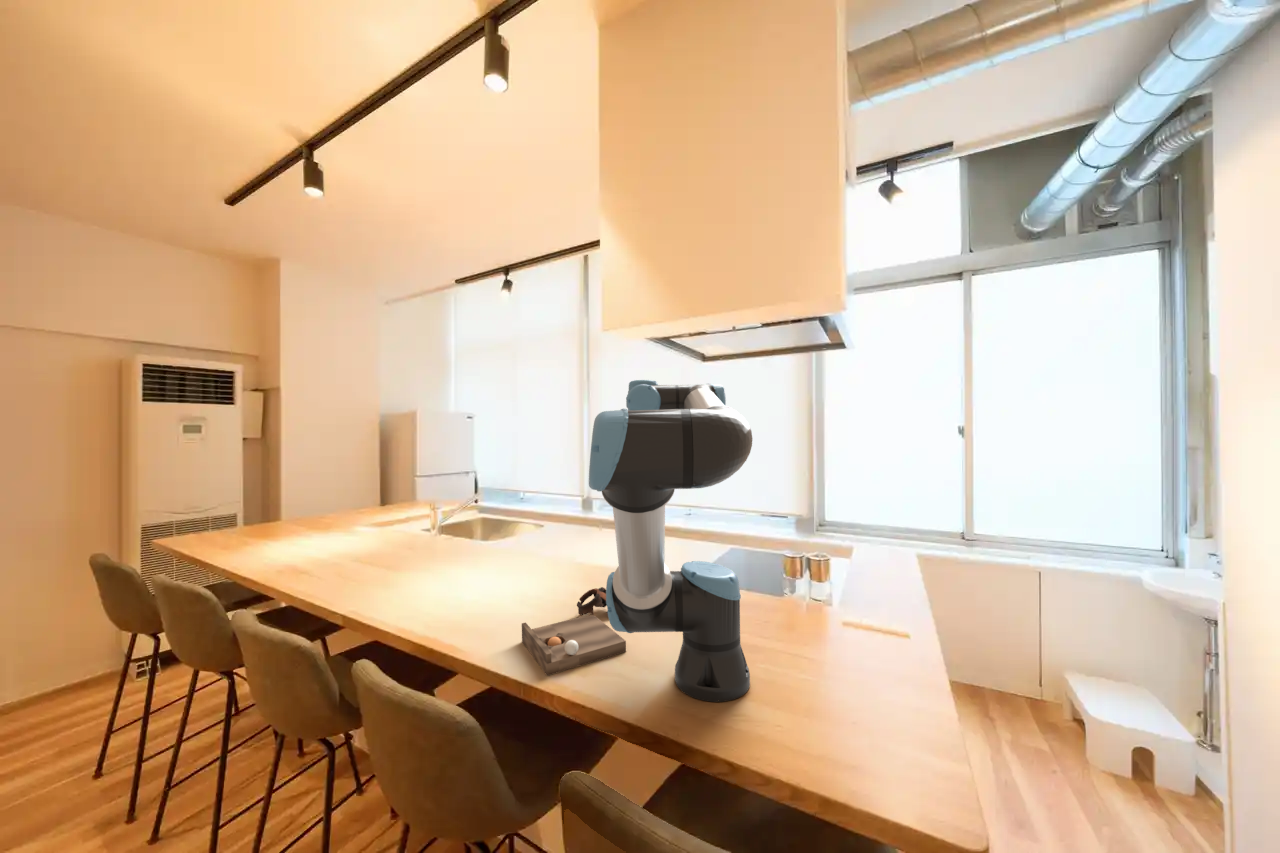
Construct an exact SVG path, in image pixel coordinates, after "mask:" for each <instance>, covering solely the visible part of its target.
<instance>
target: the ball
mask: <svg viewBox="0 0 1280 853" xmlns="http://www.w3.org/2000/svg"><path fill="white" fill-rule="evenodd" d="M560 644H561V640H560V639H559V638H558V637H552V638H550V639H549V641H548V646H556V645H560Z"/></svg>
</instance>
